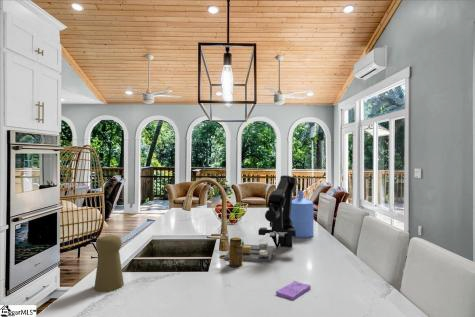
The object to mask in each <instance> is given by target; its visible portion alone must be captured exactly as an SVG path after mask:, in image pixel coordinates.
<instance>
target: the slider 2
mask: <svg viewBox="0 0 475 317" xmlns="http://www.w3.org/2000/svg"><path fill="white" fill-rule="evenodd" d="M258 245H259V250H267V249H268V246H269V245H268V242H259V244H258Z"/></svg>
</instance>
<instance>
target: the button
mask: <svg viewBox="0 0 475 317" xmlns="http://www.w3.org/2000/svg"><path fill="white" fill-rule="evenodd" d="M259 255H262V257H265V255H268V251H267V250H260V251H259Z"/></svg>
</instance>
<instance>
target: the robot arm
mask: <svg viewBox="0 0 475 317" xmlns="http://www.w3.org/2000/svg"><path fill="white" fill-rule="evenodd" d="M297 185H298V179H297V178H296V177H295V176H290V175H281V176H280V179H279V182H278V184H277V186H276V188H275V190H273V191H272V192H271V193H270V195H269V196H268V199H267V200H268V201H267V205H266V208H268V210H266V212H265V213H264V217H265V220H266V221H268V222H269V227H270V228H271V229H268V227H260V228H259V229H258V233H257V235H259V236H265V235H266V234H269V237H270V238H271V239H272V241H273V243H274V246H275V248H276V250H278V249H279V248H280V247H281V248H282V247H286V248H293V245H294V244H293V236H296V230H295V229H294V226H293V222H292V220H291V218H290V216H291V205H292V200H293V193H294V192H295V190H296V189H297ZM277 235H278V236H277ZM279 246H280V247H279Z"/></svg>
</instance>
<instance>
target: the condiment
mask: <svg viewBox="0 0 475 317" xmlns="http://www.w3.org/2000/svg"><path fill="white" fill-rule="evenodd" d="M241 239H242V238H241V237H231V238H230V239H229V245H228V252H229V260H228V262H226V263H225V264H226V265H227V266H228V267H229V269H243V268H247V266H246V265H245V264H244V263H243V261H242V244H241Z"/></svg>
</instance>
